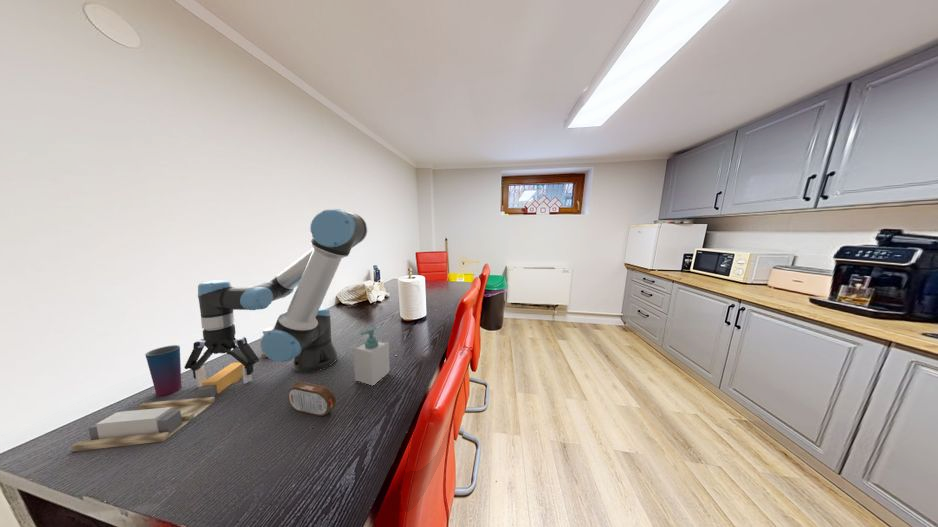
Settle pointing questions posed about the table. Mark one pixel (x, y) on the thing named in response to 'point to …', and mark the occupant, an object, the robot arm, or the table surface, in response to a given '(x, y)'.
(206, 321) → the robot arm
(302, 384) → the tin
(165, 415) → the grey-capped white block
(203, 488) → the table surface
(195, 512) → the table surface
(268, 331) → the pill bottle
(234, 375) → the grey-capped orange block
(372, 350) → the soap bottle
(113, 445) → the comb board
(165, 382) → the cup
